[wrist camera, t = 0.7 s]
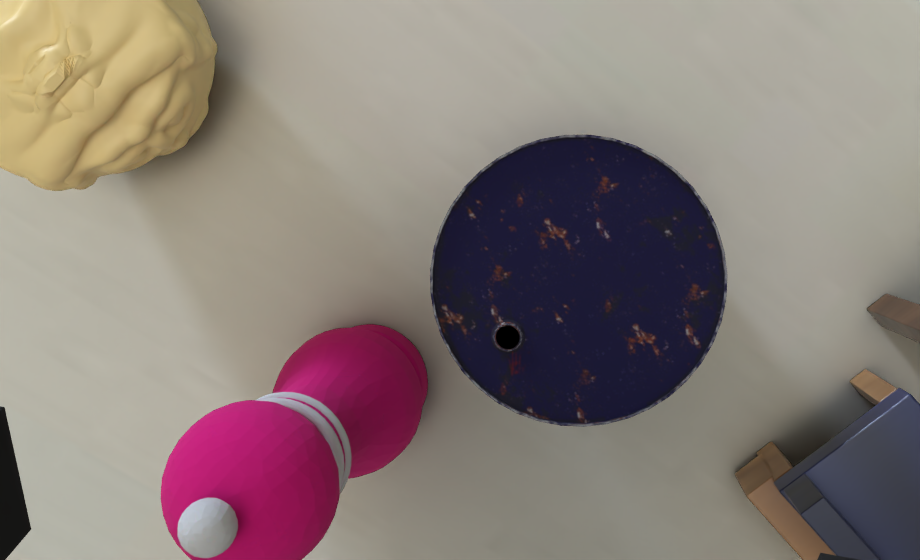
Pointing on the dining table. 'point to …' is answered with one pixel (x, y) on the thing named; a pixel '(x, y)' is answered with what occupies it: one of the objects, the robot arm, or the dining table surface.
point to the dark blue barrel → (578, 280)
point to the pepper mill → (294, 447)
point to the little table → (897, 316)
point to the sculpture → (99, 85)
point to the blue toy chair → (849, 484)
